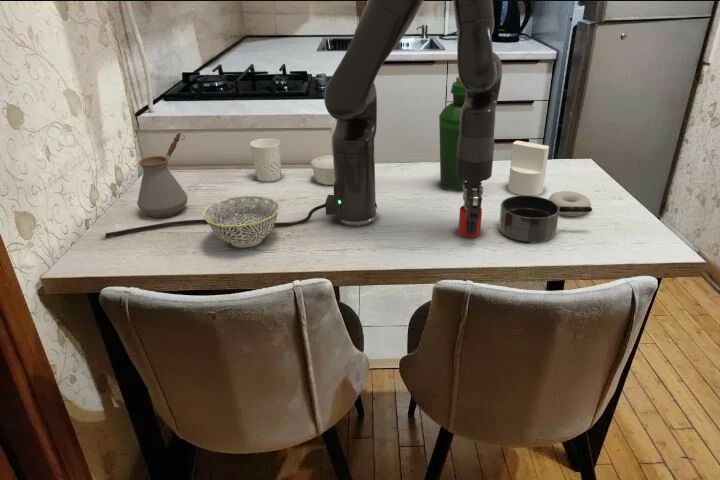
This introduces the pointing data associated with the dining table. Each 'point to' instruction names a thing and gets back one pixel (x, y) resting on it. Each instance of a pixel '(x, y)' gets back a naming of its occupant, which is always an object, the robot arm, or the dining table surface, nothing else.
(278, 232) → the dining table surface
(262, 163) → the beige cylinder
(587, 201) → the donut
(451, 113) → the bottle
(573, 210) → the handle
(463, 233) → the ketchup bottle
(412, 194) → the dining table surface
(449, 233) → the dining table surface
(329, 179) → the ramekin
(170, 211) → the coffee pot
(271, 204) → the bowl
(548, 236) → the grey round hollow bowl
